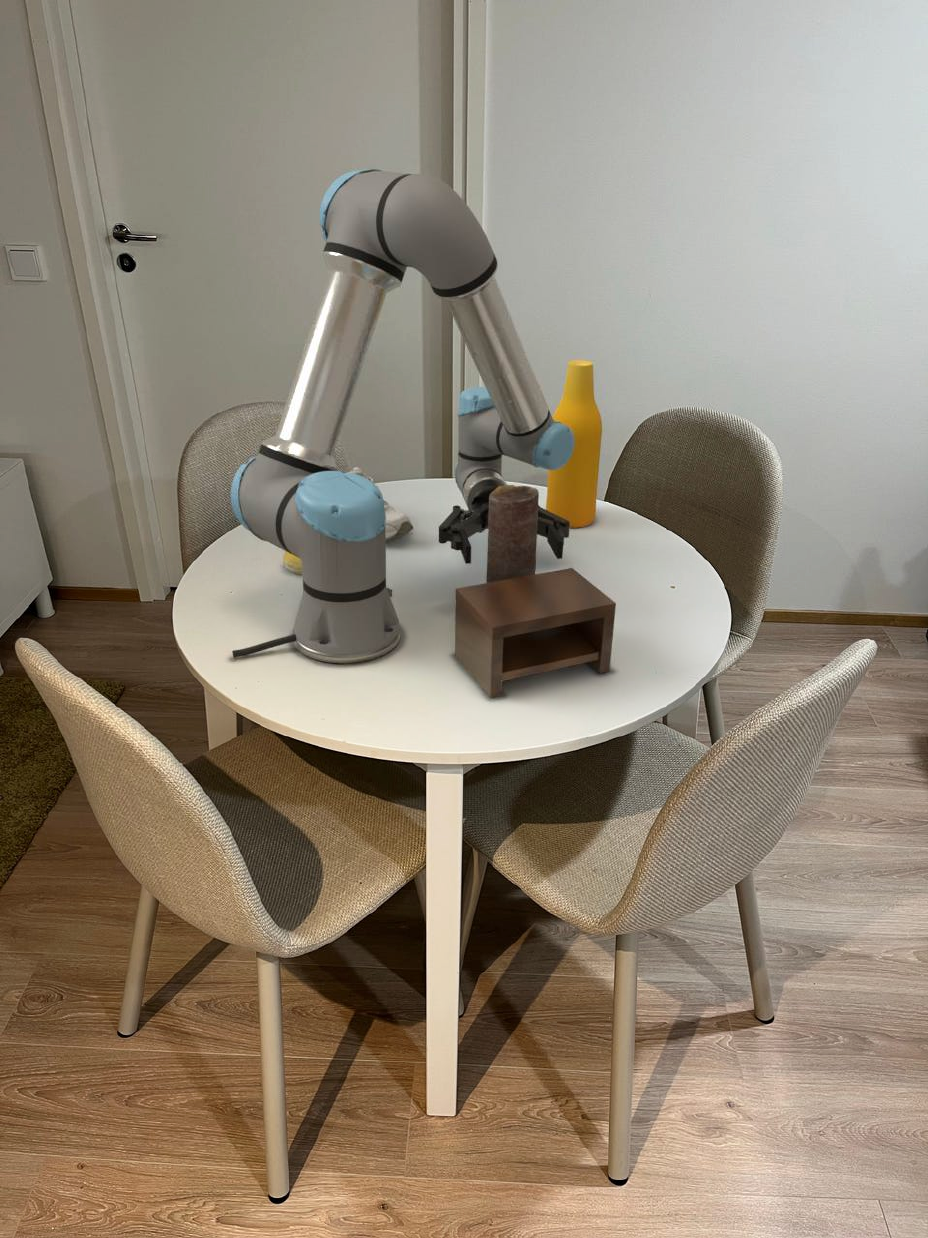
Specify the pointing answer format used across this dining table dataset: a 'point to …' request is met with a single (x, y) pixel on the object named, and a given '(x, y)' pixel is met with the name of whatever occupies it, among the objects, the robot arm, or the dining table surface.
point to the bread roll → (292, 563)
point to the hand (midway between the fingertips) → (514, 552)
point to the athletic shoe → (390, 515)
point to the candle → (512, 532)
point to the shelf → (532, 626)
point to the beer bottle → (577, 449)
